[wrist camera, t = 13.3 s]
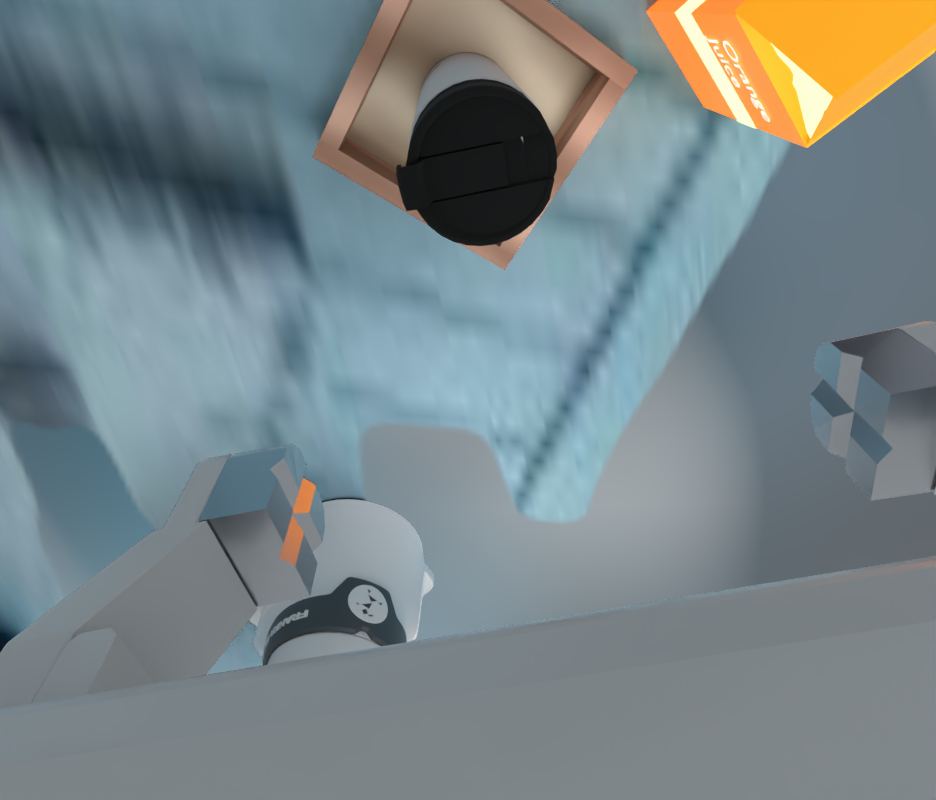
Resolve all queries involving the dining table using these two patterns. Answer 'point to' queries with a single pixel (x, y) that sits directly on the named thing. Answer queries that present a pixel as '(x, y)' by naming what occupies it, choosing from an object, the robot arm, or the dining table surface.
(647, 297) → the dining table surface
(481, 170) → the travel mug
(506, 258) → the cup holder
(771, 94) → the orange juice
